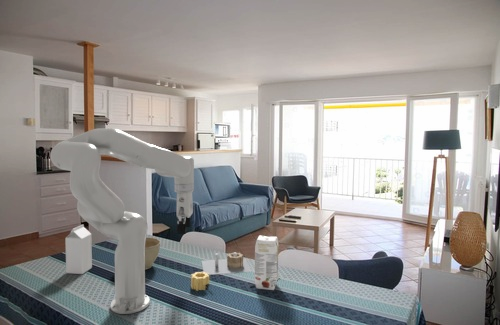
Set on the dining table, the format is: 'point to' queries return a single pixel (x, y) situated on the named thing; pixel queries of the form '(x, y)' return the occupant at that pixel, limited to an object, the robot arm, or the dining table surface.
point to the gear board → (223, 266)
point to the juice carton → (266, 262)
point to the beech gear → (235, 260)
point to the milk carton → (78, 251)
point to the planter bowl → (151, 251)
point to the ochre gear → (199, 280)
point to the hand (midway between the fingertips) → (184, 230)
